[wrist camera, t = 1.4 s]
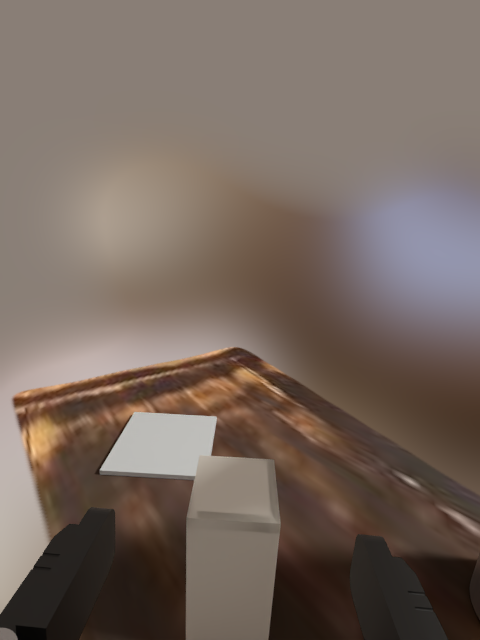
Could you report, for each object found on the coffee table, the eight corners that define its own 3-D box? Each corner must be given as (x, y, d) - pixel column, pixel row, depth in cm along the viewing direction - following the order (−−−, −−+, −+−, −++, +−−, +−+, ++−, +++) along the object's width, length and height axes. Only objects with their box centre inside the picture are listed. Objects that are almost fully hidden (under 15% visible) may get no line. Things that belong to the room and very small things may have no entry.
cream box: (197, 566, 31) (199, 455, 27) (263, 570, 30) (273, 459, 27) (185, 647, 25) (186, 518, 21) (267, 652, 25) (280, 523, 21)
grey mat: (134, 415, 53) (134, 412, 53) (216, 420, 53) (216, 416, 53) (99, 474, 41) (99, 470, 41) (206, 480, 41) (206, 476, 40)
